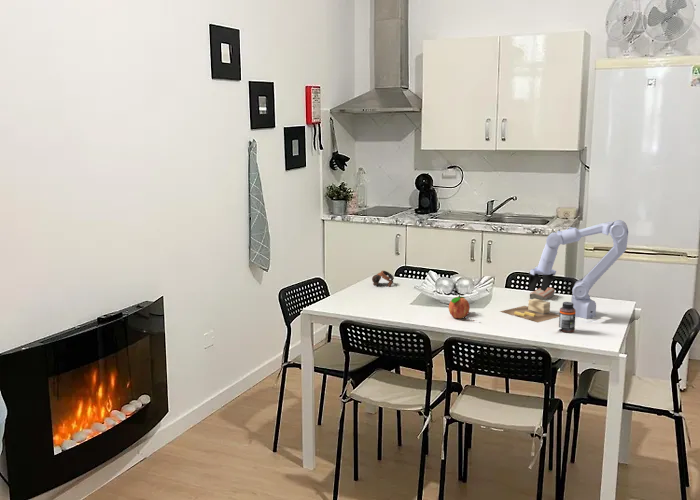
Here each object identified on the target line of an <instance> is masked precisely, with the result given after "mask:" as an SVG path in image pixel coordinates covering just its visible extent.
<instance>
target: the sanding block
mask: <svg viewBox="0 0 700 500" xmlns="http://www.w3.org/2000/svg"><path fill="white" fill-rule="evenodd" d="M527 304H528V305H527V306H528V311H532V312H536V313H539V314H543V315H544V314H548V313H551V312H550V311H551V302H550V301H546V300H539V299H528V303H527Z"/></svg>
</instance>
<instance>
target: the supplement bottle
mask: <svg viewBox="0 0 700 500" xmlns="http://www.w3.org/2000/svg"><path fill="white" fill-rule="evenodd" d="M561 305H562V307H560V308H559V315H560V316H559V317H558V328H559V329H558V331H559V332H562V333H566V334H571V333H574V332H575V329H576V317H575V313H576V310H575V309H574V308H573V303H572V302H571V301H563V302H562V304H561Z"/></svg>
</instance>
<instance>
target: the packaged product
mask: <svg viewBox="0 0 700 500" xmlns="http://www.w3.org/2000/svg"><path fill="white" fill-rule="evenodd" d="M555 292H556V290H555V288H553V287H549V286H548V287H547V289H546V290H545V291H543V290H541V287H539V288H537V289H535V290H534V291H531V292H530V293H529V300H531V299H539V300H543V301H546V300H547V301H548V300H549V301H555V300H556V299H557V298H559V295H558V294H555Z"/></svg>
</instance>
